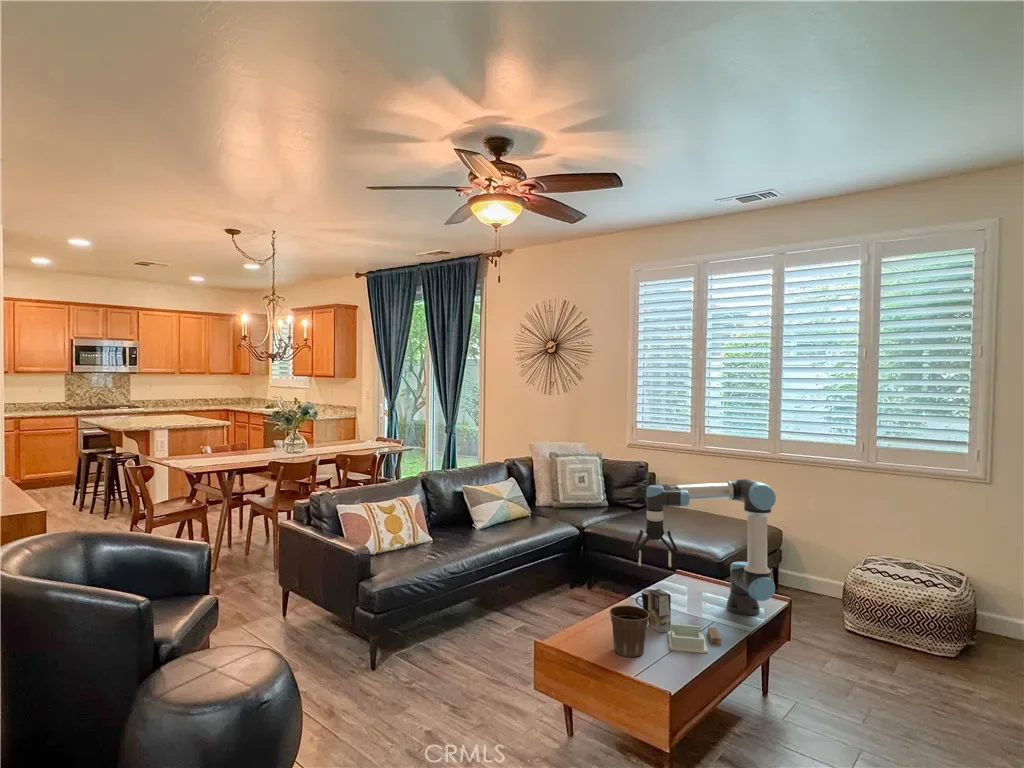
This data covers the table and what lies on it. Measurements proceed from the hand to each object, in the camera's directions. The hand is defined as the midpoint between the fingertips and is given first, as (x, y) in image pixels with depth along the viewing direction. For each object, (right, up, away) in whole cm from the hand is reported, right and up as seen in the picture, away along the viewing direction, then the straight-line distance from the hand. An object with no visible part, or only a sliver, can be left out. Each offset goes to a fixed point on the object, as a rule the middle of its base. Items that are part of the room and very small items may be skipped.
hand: (654, 565), depth 279 cm
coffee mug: (0, -27, +15) cm, 31 cm away
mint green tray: (+9, -27, -20) cm, 35 cm away
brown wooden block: (+22, -27, -16) cm, 39 cm away
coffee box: (+1, -27, -4) cm, 28 cm away
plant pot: (-17, -27, -28) cm, 43 cm away
